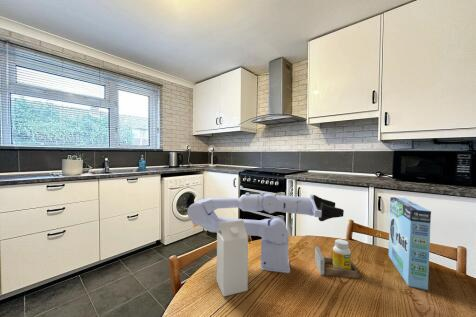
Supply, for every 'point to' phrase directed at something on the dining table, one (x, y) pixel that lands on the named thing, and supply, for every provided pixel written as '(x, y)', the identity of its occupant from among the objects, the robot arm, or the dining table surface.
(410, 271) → the gum box
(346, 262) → the supplement bottle
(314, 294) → the dining table surface
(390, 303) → the dining table surface
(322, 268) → the locking bar
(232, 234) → the milk carton
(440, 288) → the dining table surface
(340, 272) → the brown u-shaped frame
